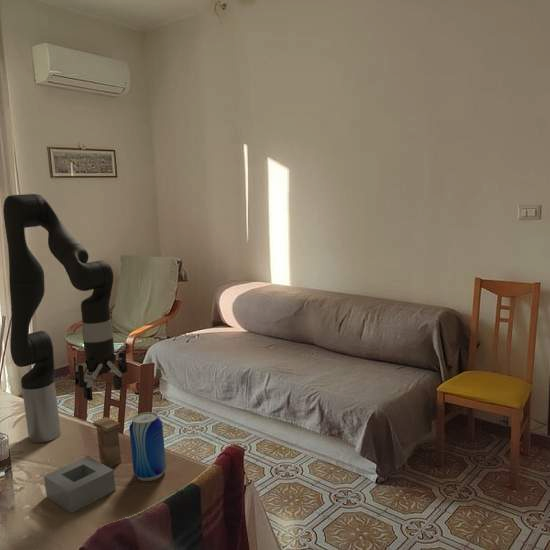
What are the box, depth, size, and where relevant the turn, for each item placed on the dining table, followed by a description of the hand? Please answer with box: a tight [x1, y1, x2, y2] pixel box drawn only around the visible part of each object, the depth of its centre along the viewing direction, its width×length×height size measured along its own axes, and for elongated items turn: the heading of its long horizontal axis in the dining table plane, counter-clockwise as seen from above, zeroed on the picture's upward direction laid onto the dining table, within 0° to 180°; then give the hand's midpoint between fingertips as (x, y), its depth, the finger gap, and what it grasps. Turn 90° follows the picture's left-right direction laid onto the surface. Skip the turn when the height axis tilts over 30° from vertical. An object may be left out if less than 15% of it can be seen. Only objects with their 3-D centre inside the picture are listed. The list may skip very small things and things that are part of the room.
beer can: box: [128, 411, 167, 482], centre depth 140 cm, size 8×8×16 cm
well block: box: [43, 455, 116, 514], centre depth 134 cm, size 12×12×6 cm
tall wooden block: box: [92, 416, 122, 468], centre depth 147 cm, size 7×4×12 cm, turn 49°
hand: (103, 394), depth 144 cm, fingers open, 8 cm apart
